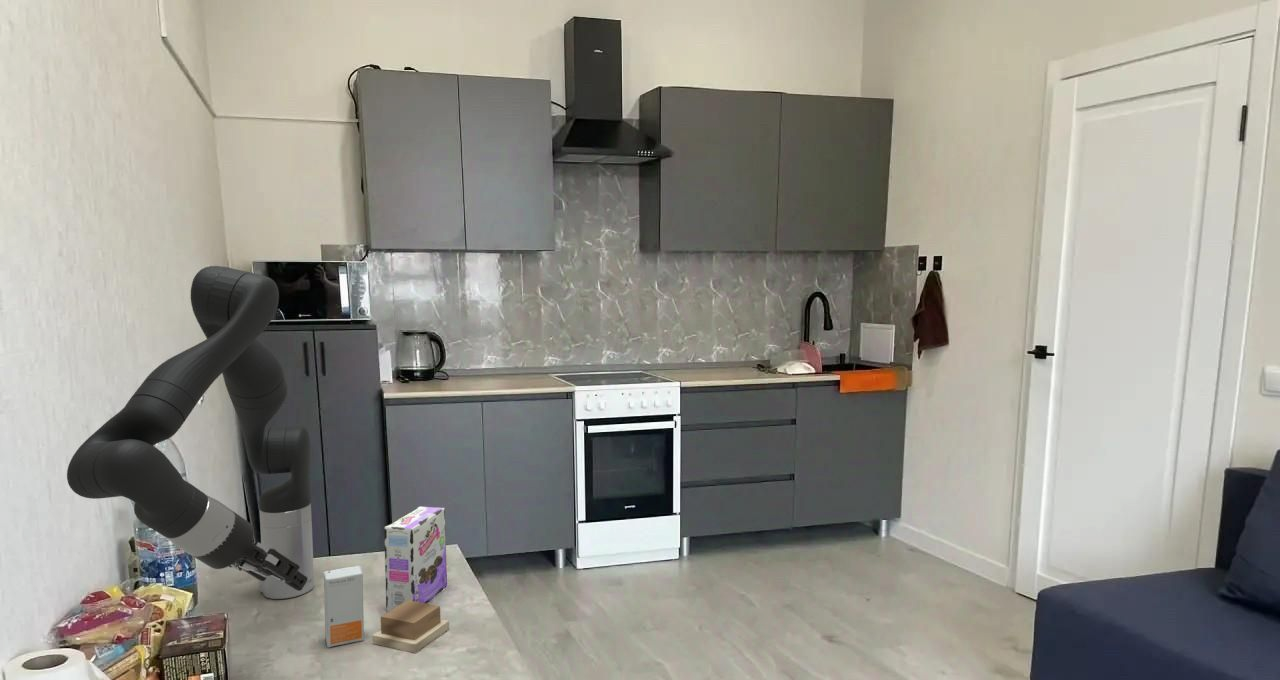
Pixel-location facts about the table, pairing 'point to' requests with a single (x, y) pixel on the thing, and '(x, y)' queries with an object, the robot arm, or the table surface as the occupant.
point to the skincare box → (343, 606)
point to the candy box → (415, 557)
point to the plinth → (408, 642)
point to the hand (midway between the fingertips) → (284, 579)
